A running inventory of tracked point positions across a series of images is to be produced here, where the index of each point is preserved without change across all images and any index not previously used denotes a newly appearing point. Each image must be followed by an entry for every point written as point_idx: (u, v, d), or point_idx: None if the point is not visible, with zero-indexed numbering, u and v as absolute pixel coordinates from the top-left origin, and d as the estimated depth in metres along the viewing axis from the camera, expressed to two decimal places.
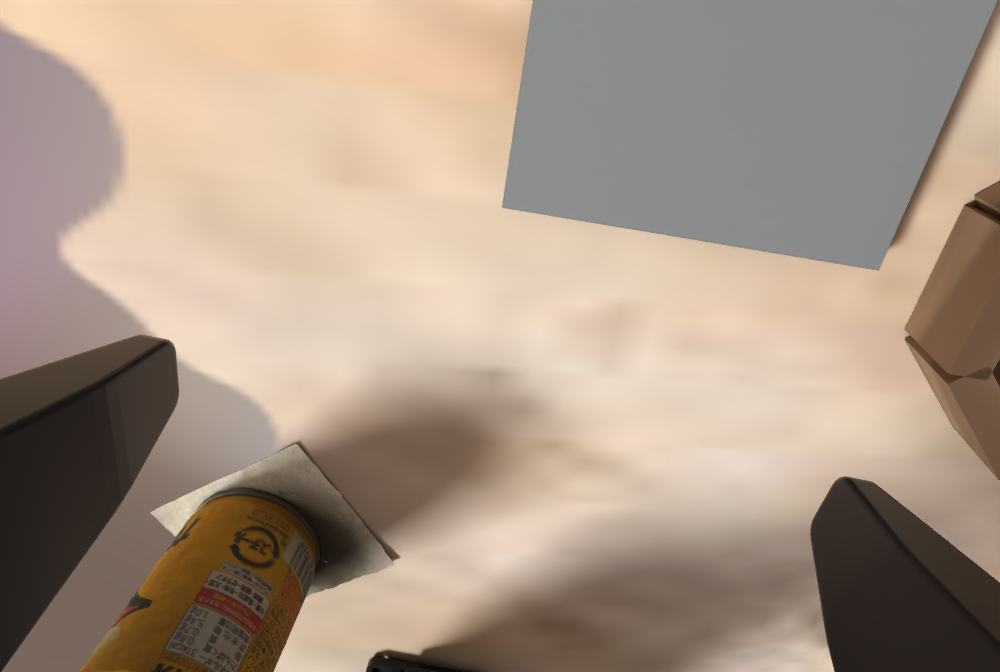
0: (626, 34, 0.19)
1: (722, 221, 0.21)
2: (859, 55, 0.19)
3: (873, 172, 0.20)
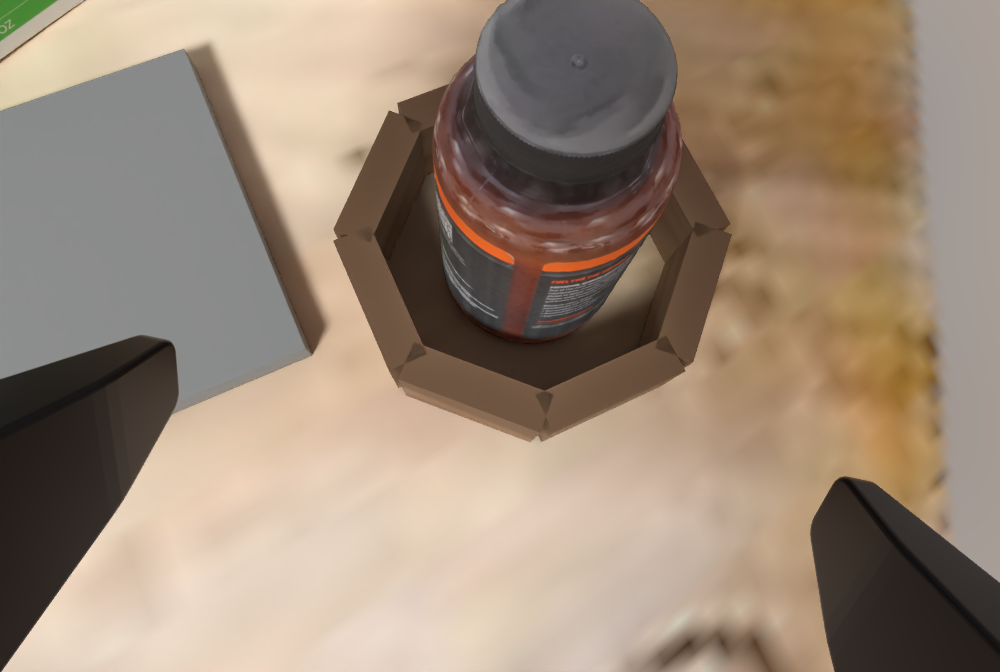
0: None
1: None
2: (158, 225, 0.22)
3: (235, 285, 0.22)
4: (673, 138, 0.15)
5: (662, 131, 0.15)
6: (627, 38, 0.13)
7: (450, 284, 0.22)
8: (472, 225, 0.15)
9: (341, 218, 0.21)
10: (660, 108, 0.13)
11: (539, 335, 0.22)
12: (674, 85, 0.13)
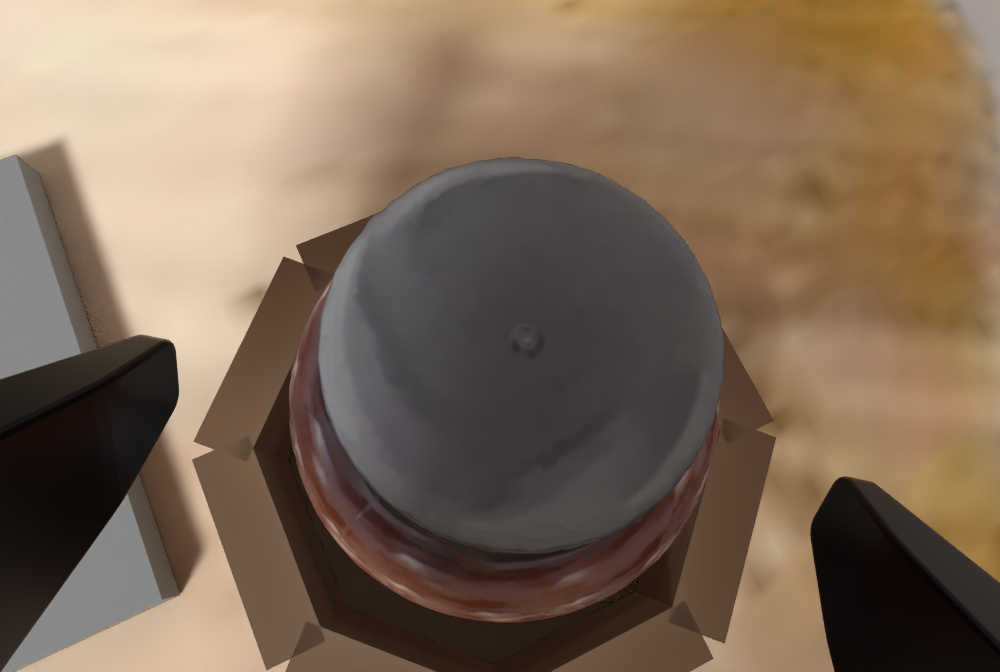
0: None
1: None
2: None
3: None
4: None
5: None
6: (624, 284, 0.07)
7: None
8: (353, 559, 0.09)
9: (206, 424, 0.14)
10: (693, 442, 0.06)
11: None
12: (720, 385, 0.06)
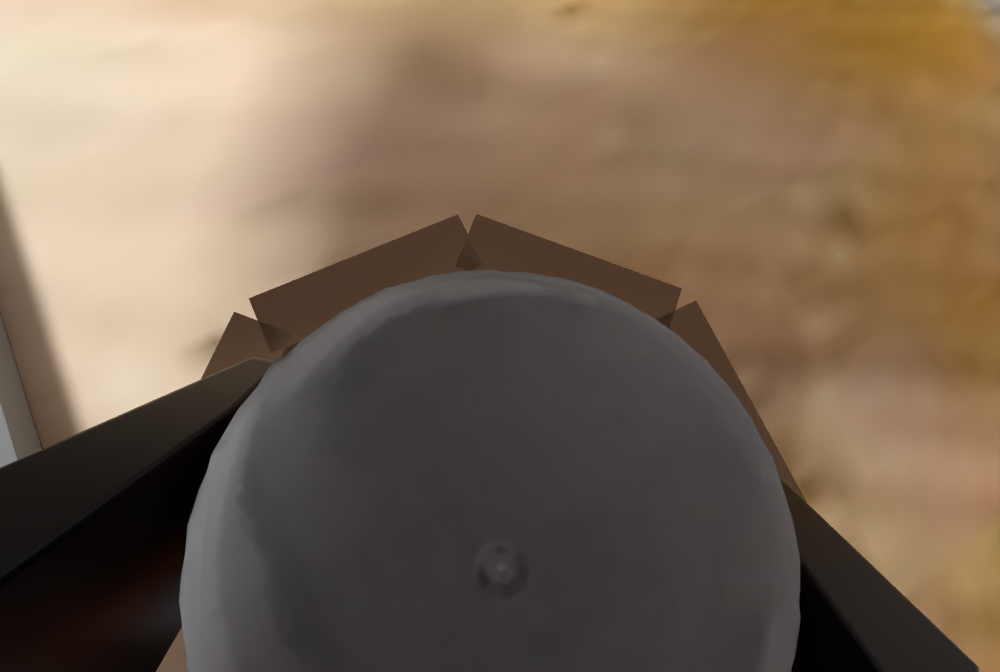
0: None
1: None
2: None
3: None
4: None
5: None
6: (650, 477, 0.04)
7: None
8: None
9: None
10: None
11: None
12: (796, 636, 0.04)
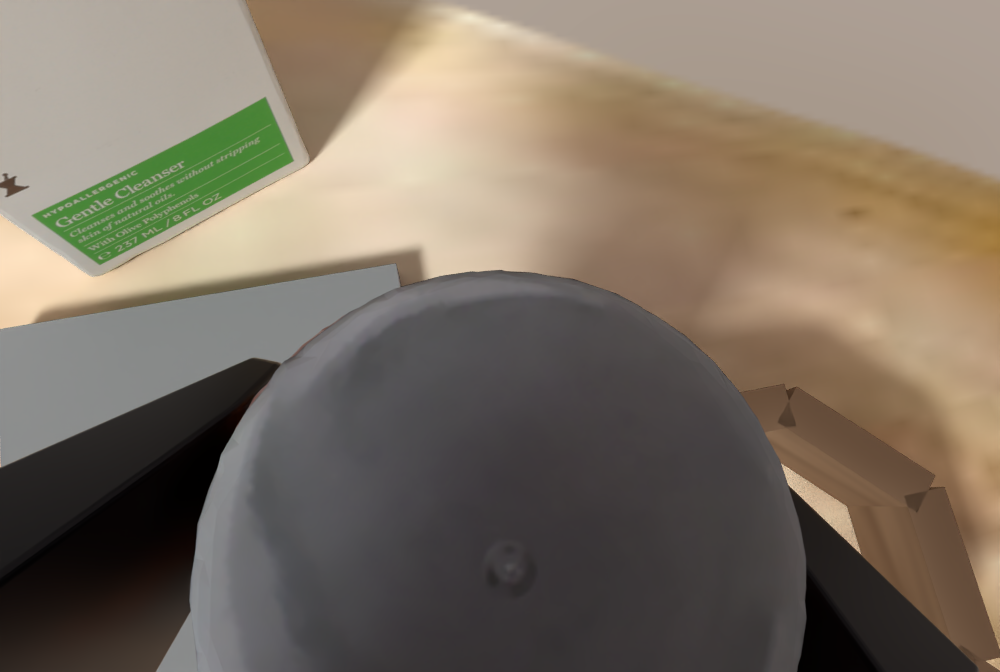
0: None
1: None
2: None
3: None
4: None
5: None
6: (656, 476, 0.04)
7: None
8: None
9: None
10: None
11: None
12: (803, 636, 0.04)
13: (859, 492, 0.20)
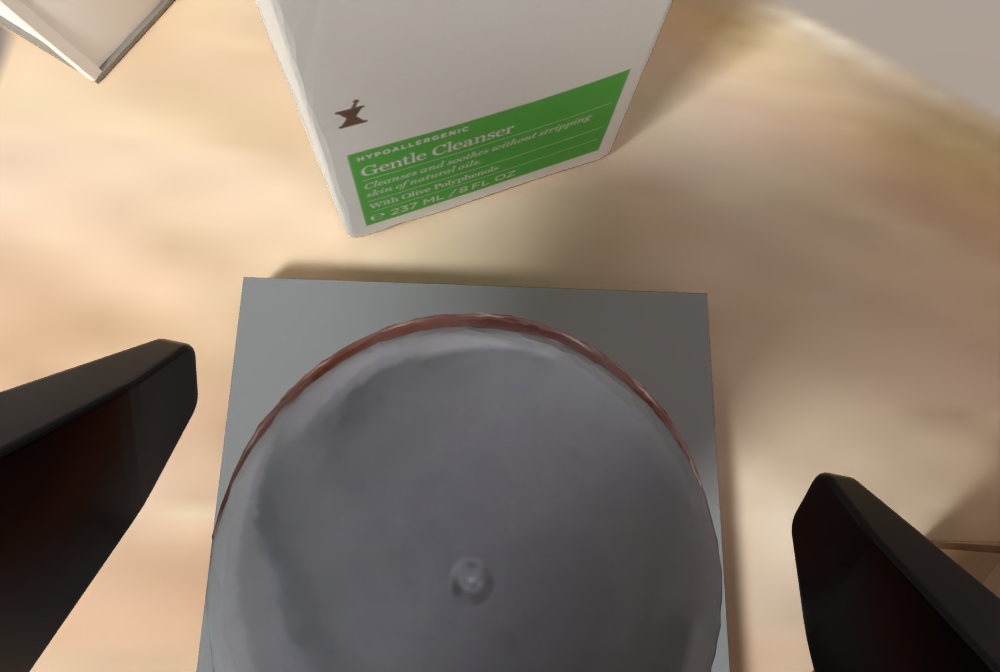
0: None
1: None
2: None
3: None
4: None
5: None
6: (596, 503, 0.05)
7: None
8: None
9: None
10: None
11: None
12: (716, 638, 0.05)
13: None
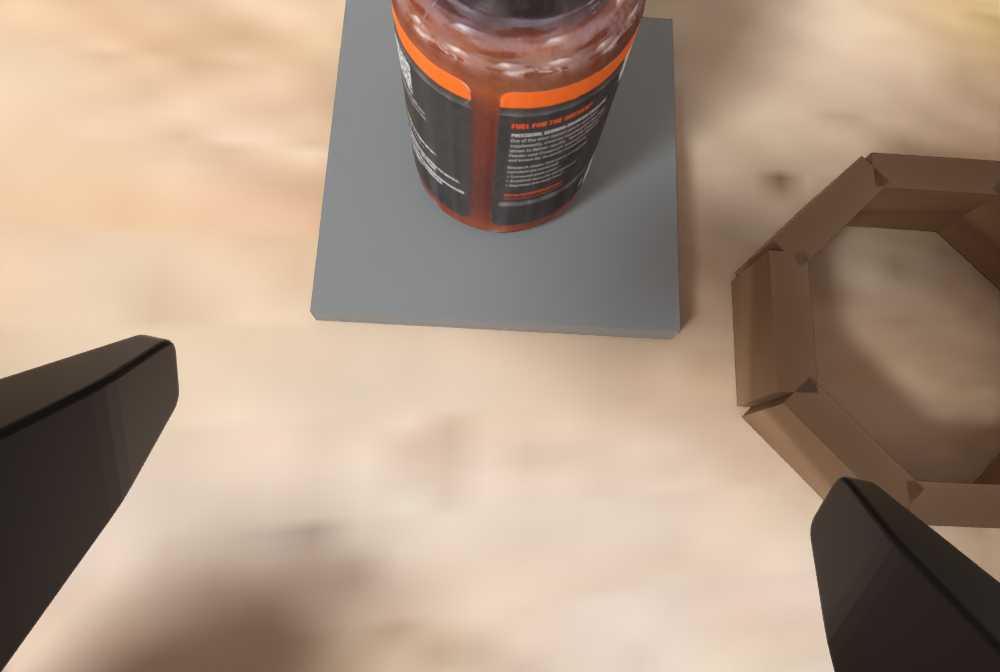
0: (408, 162, 0.23)
1: (523, 302, 0.22)
2: (593, 163, 0.23)
3: (639, 246, 0.23)
4: None
5: None
6: None
7: (418, 165, 0.21)
8: (426, 51, 0.15)
9: (783, 233, 0.21)
10: None
11: (508, 219, 0.21)
12: None
13: None
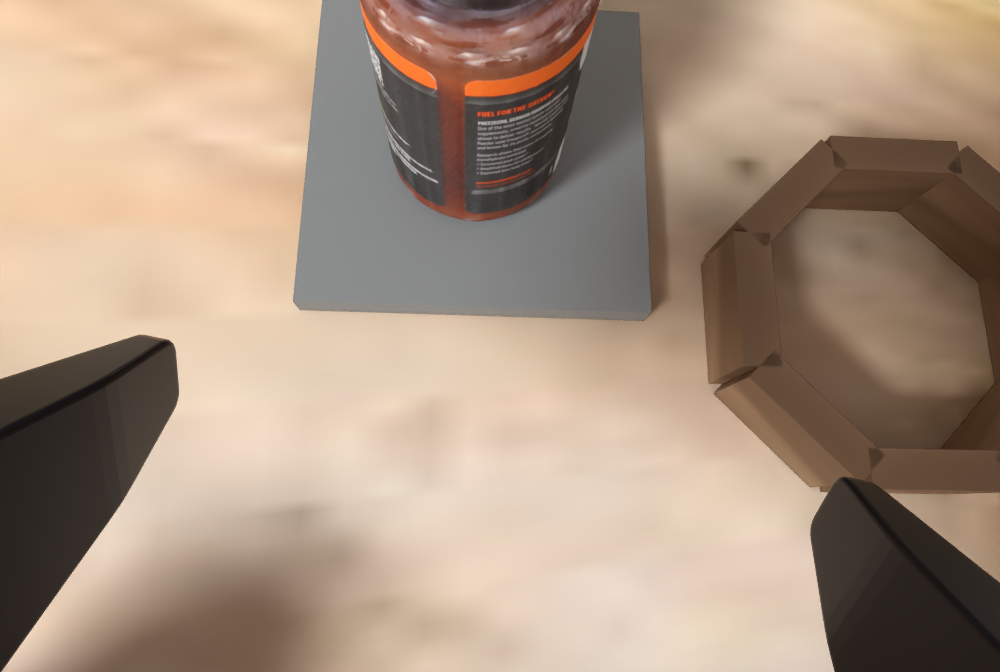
0: (385, 155, 0.24)
1: (499, 287, 0.23)
2: (564, 152, 0.24)
3: (610, 231, 0.24)
4: None
5: None
6: None
7: (394, 157, 0.22)
8: (393, 43, 0.15)
9: (747, 215, 0.22)
10: None
11: (482, 207, 0.22)
12: None
13: None
